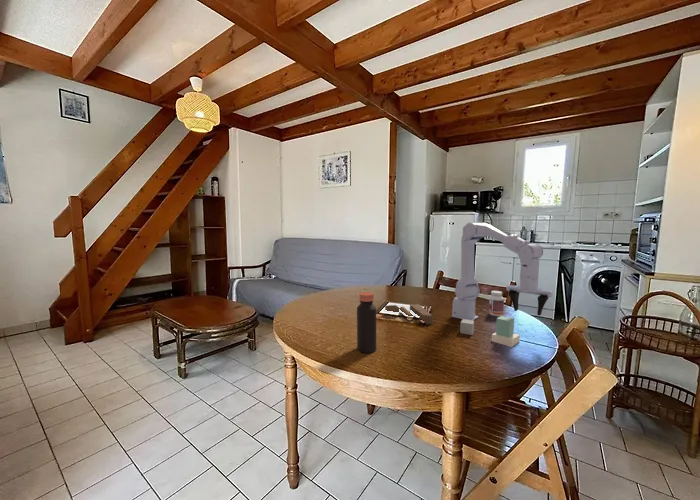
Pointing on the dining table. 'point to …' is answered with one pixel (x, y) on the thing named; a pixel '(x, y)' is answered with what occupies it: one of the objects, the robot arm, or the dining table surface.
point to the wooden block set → (415, 308)
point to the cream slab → (506, 339)
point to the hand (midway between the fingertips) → (527, 312)
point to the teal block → (505, 326)
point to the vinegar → (366, 323)
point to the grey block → (467, 326)
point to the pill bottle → (496, 303)
